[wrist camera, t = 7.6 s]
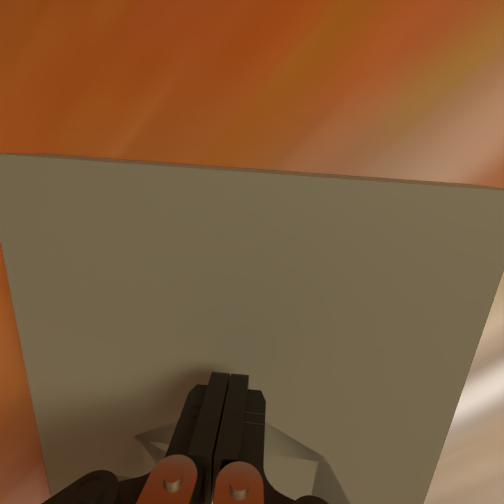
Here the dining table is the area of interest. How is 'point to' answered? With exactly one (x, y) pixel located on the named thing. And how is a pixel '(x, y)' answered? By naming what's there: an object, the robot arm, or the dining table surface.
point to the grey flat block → (248, 313)
